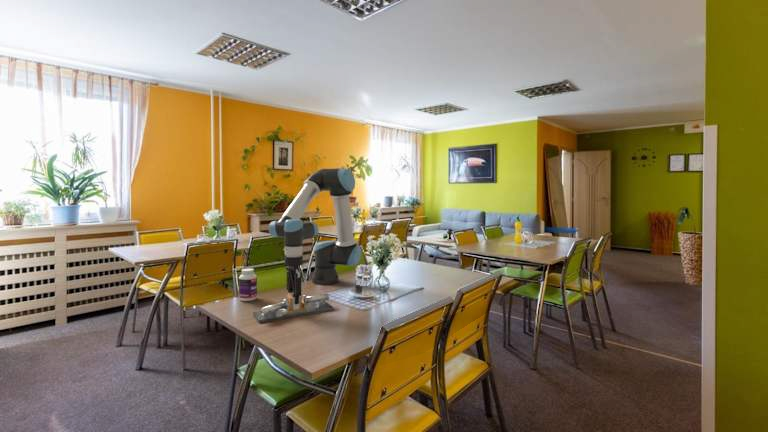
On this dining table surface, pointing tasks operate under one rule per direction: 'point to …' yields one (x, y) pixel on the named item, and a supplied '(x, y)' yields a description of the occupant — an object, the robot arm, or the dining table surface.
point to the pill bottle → (247, 285)
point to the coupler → (290, 299)
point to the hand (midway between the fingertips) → (293, 309)
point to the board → (294, 312)
